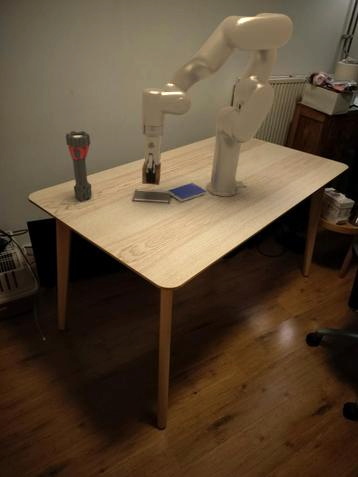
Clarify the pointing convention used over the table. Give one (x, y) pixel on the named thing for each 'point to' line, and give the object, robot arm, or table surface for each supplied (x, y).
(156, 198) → the mat
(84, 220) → the table surface
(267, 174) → the table surface
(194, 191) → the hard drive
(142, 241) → the table surface
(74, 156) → the flashlight
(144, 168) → the cube
